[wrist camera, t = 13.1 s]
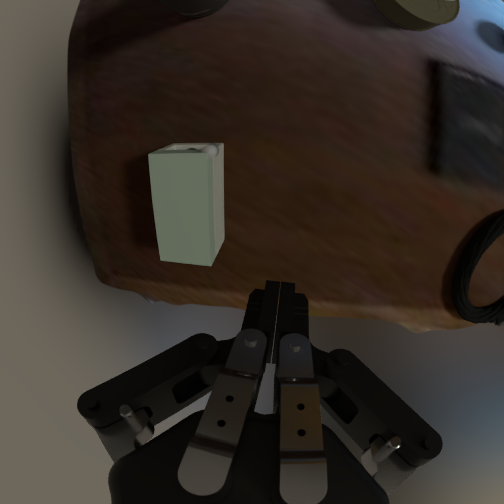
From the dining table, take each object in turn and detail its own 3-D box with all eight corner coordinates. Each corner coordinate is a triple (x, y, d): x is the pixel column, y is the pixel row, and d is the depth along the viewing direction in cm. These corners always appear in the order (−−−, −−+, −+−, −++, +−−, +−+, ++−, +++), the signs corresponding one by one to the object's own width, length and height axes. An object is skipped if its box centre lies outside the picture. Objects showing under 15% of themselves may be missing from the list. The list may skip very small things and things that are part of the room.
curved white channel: (173, 143, 40) (157, 150, 35) (223, 143, 39) (213, 149, 34) (179, 235, 48) (167, 251, 43) (224, 239, 47) (216, 256, 42)
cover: (156, 144, 34) (147, 147, 32) (219, 143, 33) (214, 146, 31) (166, 252, 43) (160, 260, 41) (221, 257, 42) (217, 266, 40)
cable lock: (547, 194, 28) (538, 301, 39) (536, 187, 31) (531, 292, 42) (450, 250, 38) (457, 349, 49) (441, 239, 41) (452, 338, 52)
